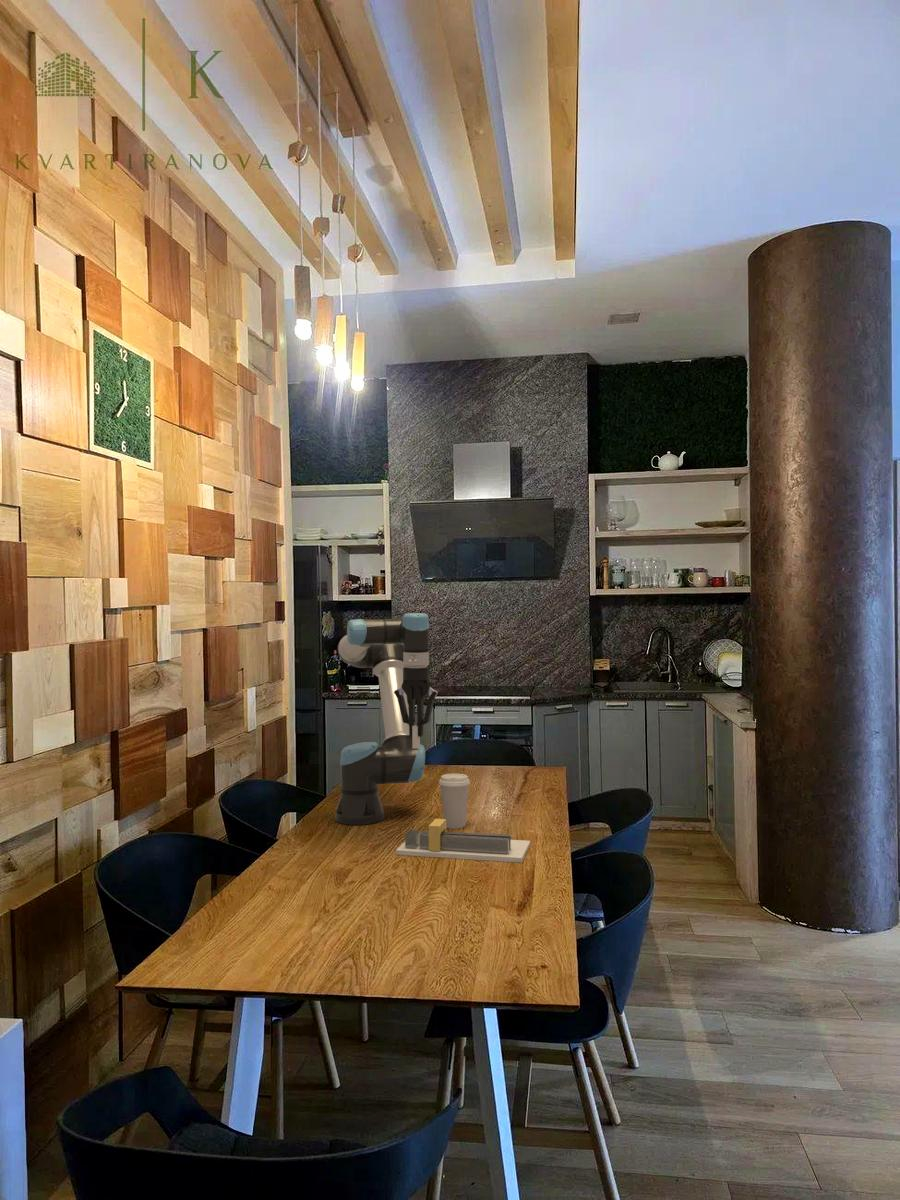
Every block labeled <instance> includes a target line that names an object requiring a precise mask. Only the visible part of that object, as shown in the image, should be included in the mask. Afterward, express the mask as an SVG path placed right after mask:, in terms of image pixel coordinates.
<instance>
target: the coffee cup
mask: <svg viewBox="0 0 900 1200" xmlns="http://www.w3.org/2000/svg"><path fill="white" fill-rule="evenodd" d="M470 784H471V781H470V779H469V777H468V775H467V774H464V773H446V774H442V775H441V776H440V779H439V781H438V785H439V786H440V794H441V795H440V796H441V804H442V805H441V807H442V816H443V818H442V819H446V829H450V828H451V829H452V830H453V829H454V830H456V829H457V830H459V829H463V827H464V828H465V827H466V825H467V814H468V813H467V811H468V800H469V799H468V797H469V786H470Z"/></svg>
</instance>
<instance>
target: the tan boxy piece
mask: <svg viewBox="0 0 900 1200" xmlns="http://www.w3.org/2000/svg"><path fill="white" fill-rule="evenodd" d="M428 831H429V850H433V851H440V834H441V833H442V832H447V828H446V819H444V818H434V820H433V821H432V822H430V824H429V825H428Z"/></svg>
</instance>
